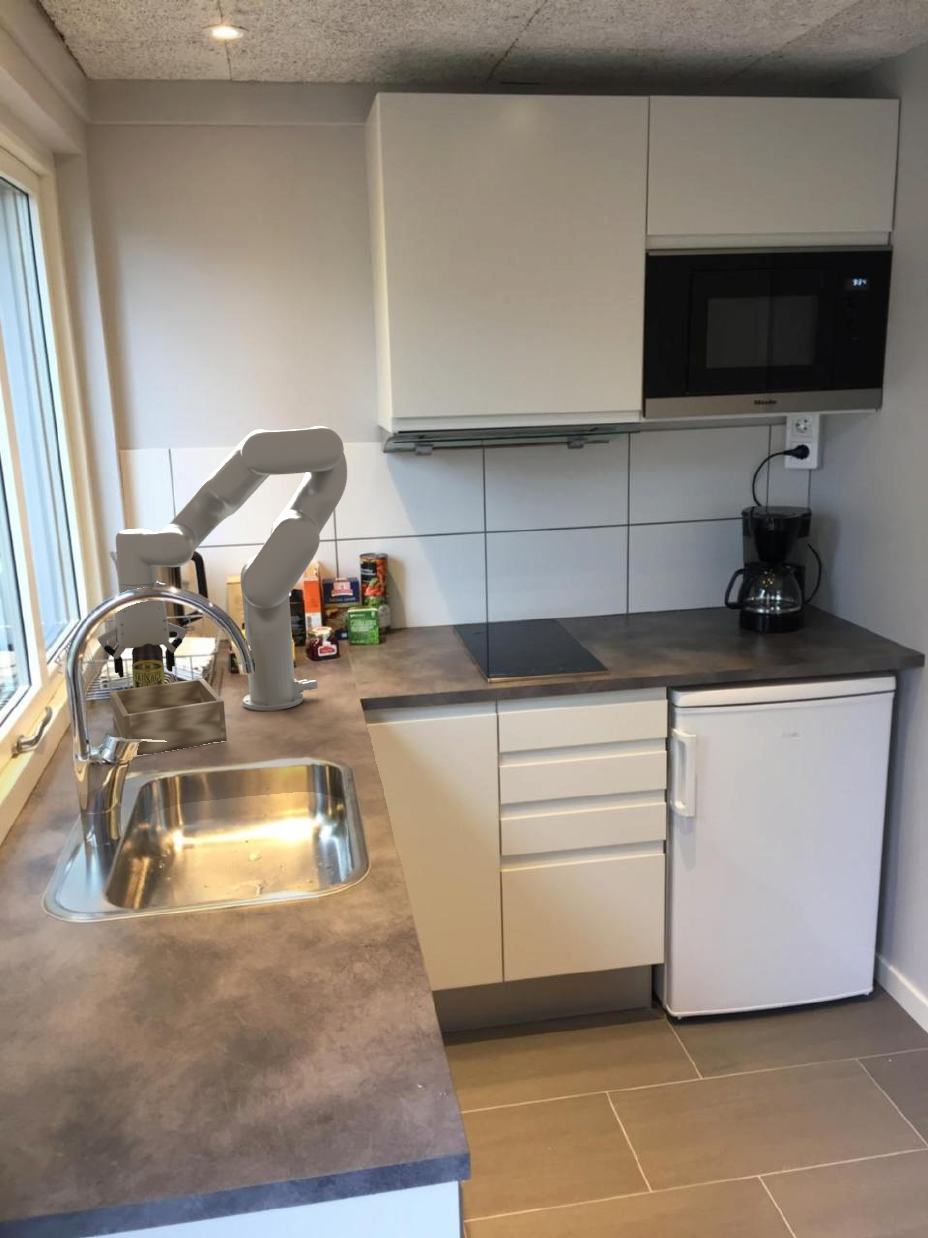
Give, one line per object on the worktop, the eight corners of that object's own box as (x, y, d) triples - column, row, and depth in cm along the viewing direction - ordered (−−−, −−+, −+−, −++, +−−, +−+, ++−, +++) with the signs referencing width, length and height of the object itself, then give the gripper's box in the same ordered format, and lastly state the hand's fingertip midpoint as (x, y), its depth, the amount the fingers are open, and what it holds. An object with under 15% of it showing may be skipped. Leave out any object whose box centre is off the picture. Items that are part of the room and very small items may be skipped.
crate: (206, 716, 206) (203, 678, 204) (227, 741, 190) (223, 701, 188) (114, 730, 198) (110, 691, 196) (127, 758, 182) (123, 716, 180)
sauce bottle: (134, 719, 205) (125, 623, 200) (135, 710, 211) (126, 617, 206) (168, 715, 206) (159, 621, 202) (168, 707, 212) (159, 615, 208)
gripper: (179, 584, 210) (184, 664, 214) (91, 591, 203) (98, 674, 206) (186, 590, 203) (192, 672, 207) (96, 598, 196) (103, 683, 200)
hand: (145, 673), depth 207 cm, fingers open, 9 cm apart
